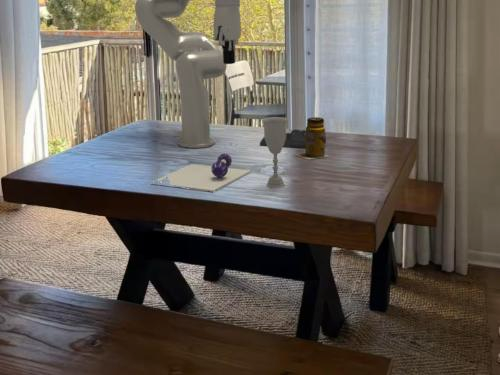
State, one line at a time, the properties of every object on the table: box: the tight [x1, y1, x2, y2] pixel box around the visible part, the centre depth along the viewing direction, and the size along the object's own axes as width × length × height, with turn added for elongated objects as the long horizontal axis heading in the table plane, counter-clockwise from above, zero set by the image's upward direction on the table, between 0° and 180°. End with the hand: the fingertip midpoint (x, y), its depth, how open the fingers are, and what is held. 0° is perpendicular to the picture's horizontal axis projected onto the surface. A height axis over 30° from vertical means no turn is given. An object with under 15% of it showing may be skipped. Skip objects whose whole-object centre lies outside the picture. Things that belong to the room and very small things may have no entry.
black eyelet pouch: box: [259, 129, 327, 150], centre depth 232 cm, size 15×22×5 cm
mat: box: [153, 163, 252, 193], centre depth 190 cm, size 20×22×1 cm
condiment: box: [295, 116, 331, 160], centre depth 212 cm, size 7×8×12 cm
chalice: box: [261, 116, 289, 189], centre depth 180 cm, size 7×7×18 cm
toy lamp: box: [211, 153, 232, 177], centre depth 193 cm, size 5×5×17 cm
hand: (229, 63), depth 210 cm, fingers closed
